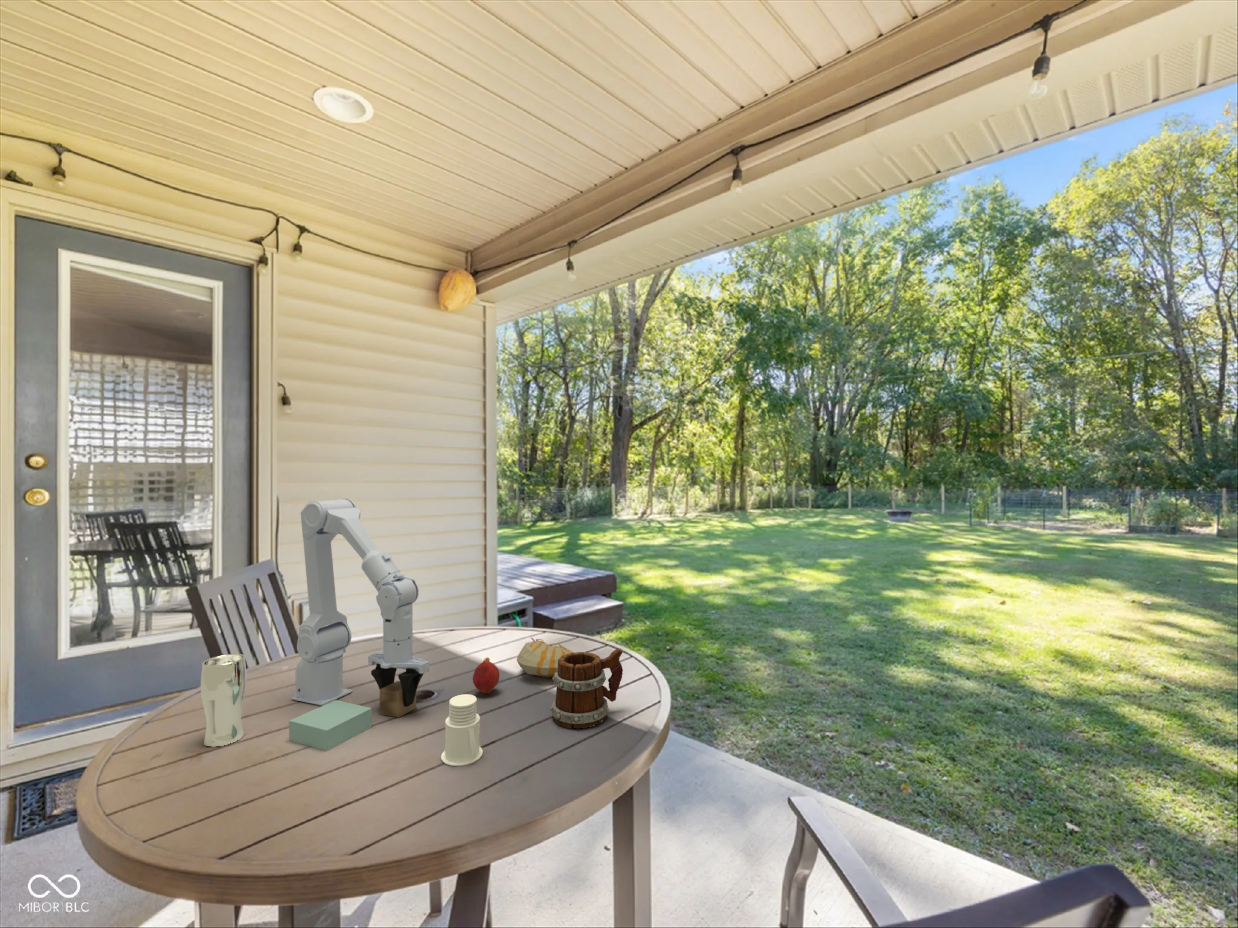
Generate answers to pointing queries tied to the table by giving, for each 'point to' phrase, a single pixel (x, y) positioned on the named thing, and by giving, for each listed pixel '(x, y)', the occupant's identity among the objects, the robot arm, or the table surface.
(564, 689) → the mug
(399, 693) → the walnut block
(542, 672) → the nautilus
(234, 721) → the beer glass
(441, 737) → the table surface
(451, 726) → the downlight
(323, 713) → the riser block
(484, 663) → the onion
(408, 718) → the table surface
